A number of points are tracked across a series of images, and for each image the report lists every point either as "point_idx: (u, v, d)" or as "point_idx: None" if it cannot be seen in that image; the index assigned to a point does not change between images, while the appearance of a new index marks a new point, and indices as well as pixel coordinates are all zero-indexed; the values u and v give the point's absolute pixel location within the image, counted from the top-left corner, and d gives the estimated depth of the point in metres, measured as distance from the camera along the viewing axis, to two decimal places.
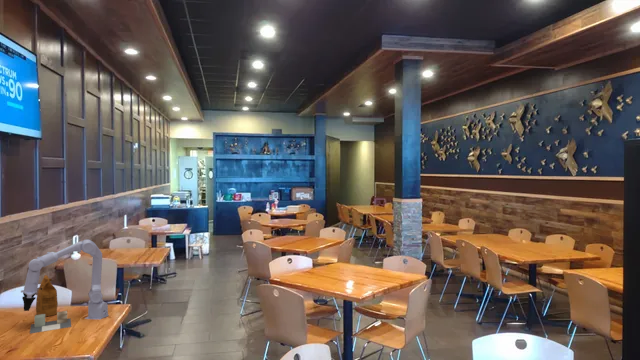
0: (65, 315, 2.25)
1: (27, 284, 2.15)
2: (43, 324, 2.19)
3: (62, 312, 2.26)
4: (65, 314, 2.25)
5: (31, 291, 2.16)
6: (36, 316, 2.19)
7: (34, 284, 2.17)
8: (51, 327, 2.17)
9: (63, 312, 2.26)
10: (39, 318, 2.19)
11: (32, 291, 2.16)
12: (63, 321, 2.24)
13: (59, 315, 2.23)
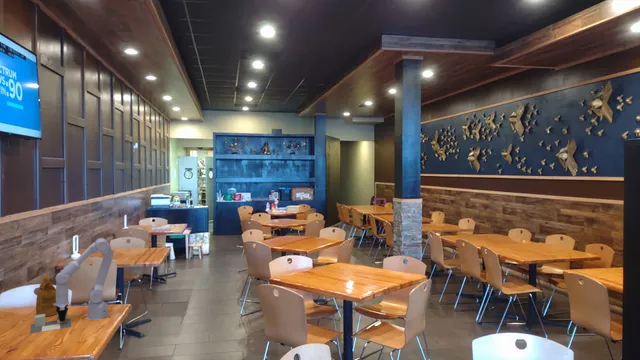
0: None
1: (58, 297, 2.23)
2: (43, 324, 2.19)
3: None
4: None
5: (63, 303, 2.24)
6: (36, 316, 2.19)
7: (64, 296, 2.24)
8: (51, 327, 2.17)
9: None
10: (39, 318, 2.19)
11: (64, 303, 2.24)
12: (63, 321, 2.24)
13: None
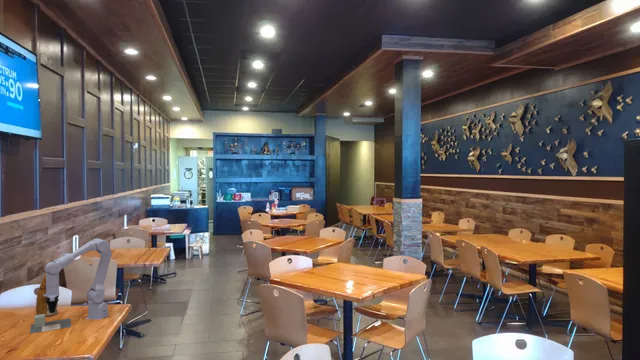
0: None
1: (48, 288, 2.15)
2: (43, 324, 2.19)
3: None
4: None
5: (53, 294, 2.16)
6: (36, 316, 2.19)
7: (55, 287, 2.17)
8: (51, 327, 2.17)
9: None
10: (39, 318, 2.19)
11: (54, 294, 2.17)
12: (54, 313, 2.17)
13: None
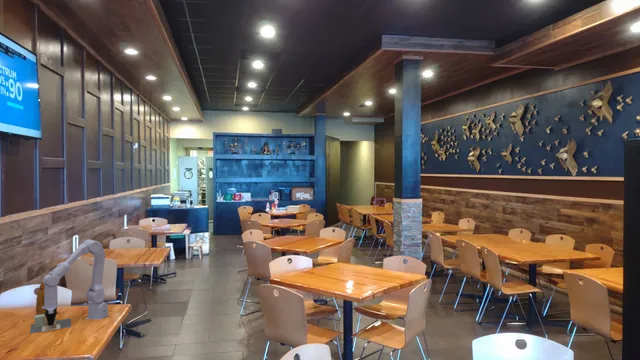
0: (54, 320, 2.16)
1: (46, 300, 2.14)
2: (43, 324, 2.19)
3: None
4: None
5: (52, 306, 2.15)
6: (36, 316, 2.19)
7: (53, 299, 2.16)
8: None
9: None
10: (39, 318, 2.19)
11: (53, 306, 2.15)
12: (52, 327, 2.16)
13: None
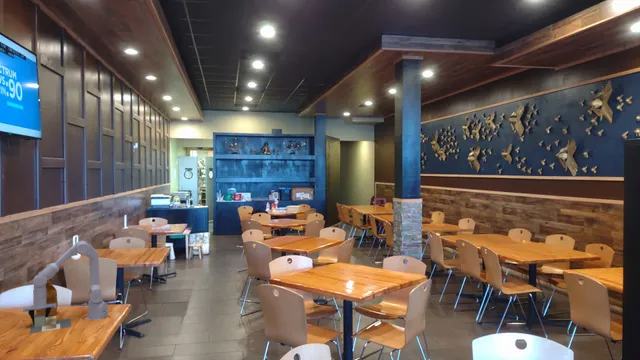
0: (54, 320, 2.16)
1: None
2: (43, 324, 2.19)
3: (51, 317, 2.17)
4: (54, 319, 2.16)
5: (33, 306, 2.18)
6: (36, 316, 2.19)
7: (34, 299, 2.18)
8: None
9: (52, 317, 2.17)
10: (39, 318, 2.19)
11: (33, 306, 2.18)
12: (52, 327, 2.16)
13: (47, 321, 2.15)
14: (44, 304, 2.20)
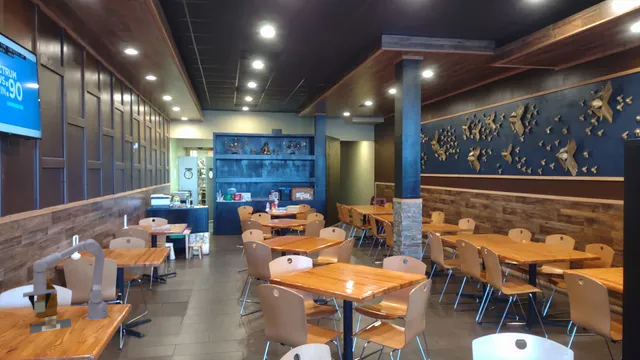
0: (54, 320, 2.16)
1: None
2: (43, 310, 2.19)
3: (51, 317, 2.17)
4: (54, 319, 2.16)
5: (33, 291, 2.18)
6: (36, 302, 2.19)
7: (34, 285, 2.18)
8: None
9: (52, 317, 2.17)
10: (39, 303, 2.18)
11: (33, 292, 2.18)
12: (52, 327, 2.16)
13: (47, 321, 2.15)
14: (44, 290, 2.20)
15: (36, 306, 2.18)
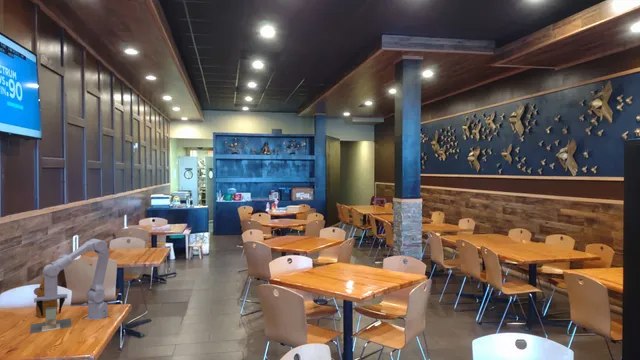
0: (54, 320, 2.16)
1: None
2: (54, 317, 2.16)
3: None
4: (54, 319, 2.16)
5: (44, 296, 2.15)
6: (47, 309, 2.16)
7: (45, 290, 2.15)
8: None
9: None
10: (50, 311, 2.15)
11: (44, 296, 2.15)
12: (52, 327, 2.16)
13: (47, 321, 2.15)
14: (55, 294, 2.17)
15: (47, 313, 2.14)
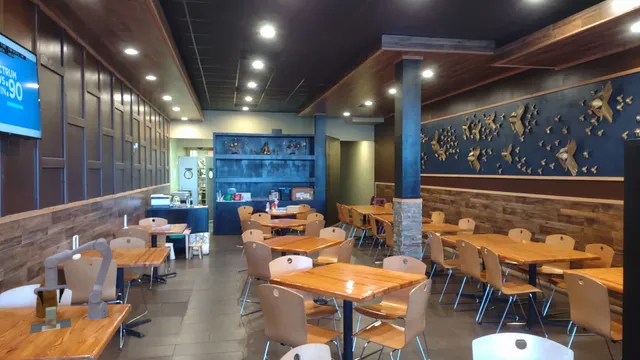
0: (54, 320, 2.16)
1: None
2: (54, 317, 2.16)
3: None
4: (54, 319, 2.16)
5: (44, 287, 2.24)
6: (47, 309, 2.16)
7: (45, 280, 2.23)
8: None
9: None
10: (50, 311, 2.15)
11: (45, 287, 2.23)
12: (52, 327, 2.16)
13: (47, 321, 2.15)
14: (55, 285, 2.25)
15: (47, 313, 2.14)
